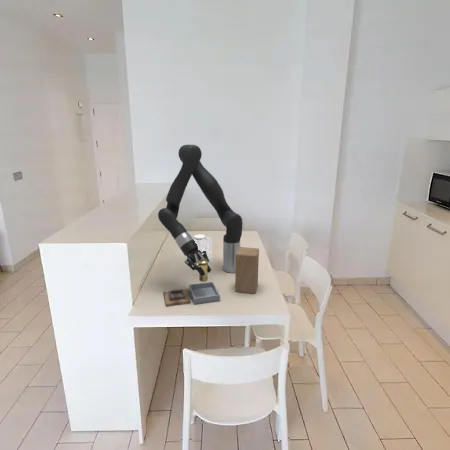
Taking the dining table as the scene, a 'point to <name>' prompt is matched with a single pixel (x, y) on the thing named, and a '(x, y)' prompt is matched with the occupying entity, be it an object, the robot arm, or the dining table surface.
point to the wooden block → (246, 270)
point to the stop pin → (204, 266)
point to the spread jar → (199, 237)
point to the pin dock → (176, 297)
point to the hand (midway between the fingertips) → (206, 273)
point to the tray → (204, 293)
